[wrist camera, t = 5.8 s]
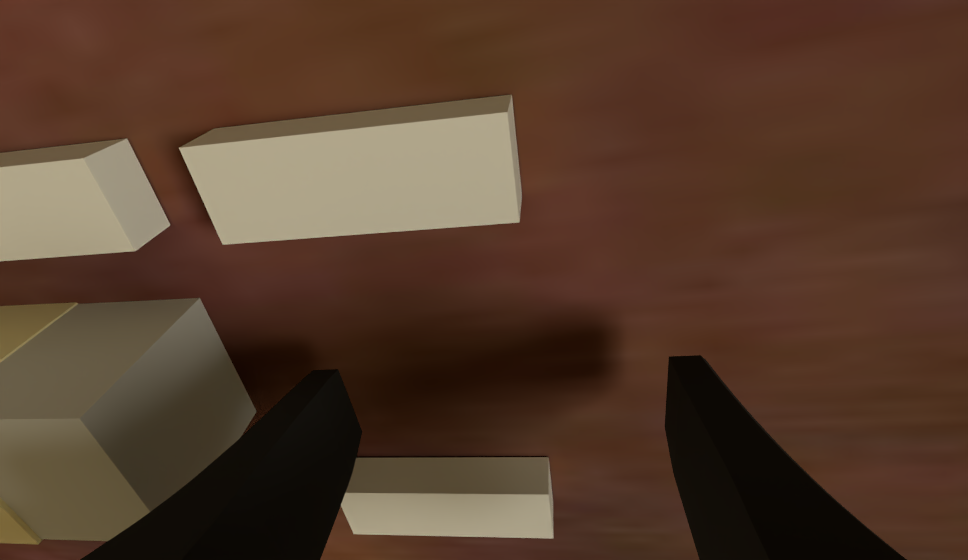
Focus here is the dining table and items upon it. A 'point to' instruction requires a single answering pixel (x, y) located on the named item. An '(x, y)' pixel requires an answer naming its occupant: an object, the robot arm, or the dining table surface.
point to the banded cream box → (108, 413)
